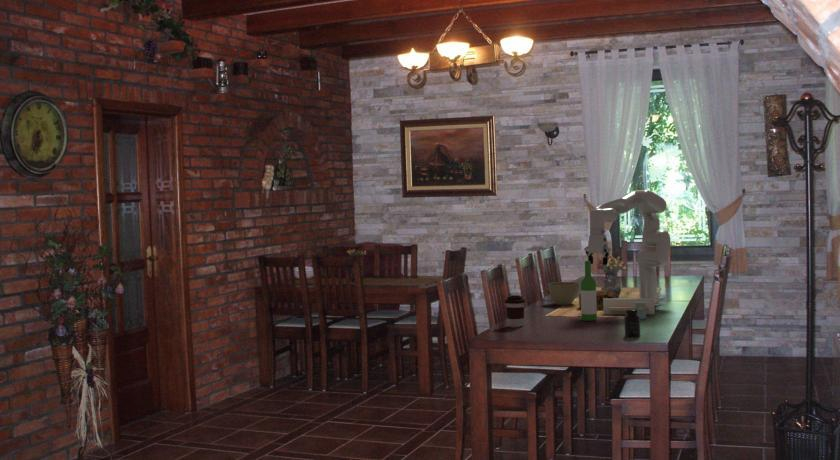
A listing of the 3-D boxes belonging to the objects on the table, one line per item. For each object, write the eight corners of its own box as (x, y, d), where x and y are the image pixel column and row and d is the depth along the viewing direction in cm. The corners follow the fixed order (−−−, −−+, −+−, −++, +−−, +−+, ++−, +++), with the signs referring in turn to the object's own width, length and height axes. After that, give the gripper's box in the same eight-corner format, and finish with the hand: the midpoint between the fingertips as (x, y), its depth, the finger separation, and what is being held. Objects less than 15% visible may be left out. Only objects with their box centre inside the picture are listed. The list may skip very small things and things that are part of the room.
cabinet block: (635, 316, 431) (635, 301, 431) (646, 316, 430) (645, 301, 430) (636, 319, 424) (635, 303, 424) (646, 319, 423) (645, 303, 423)
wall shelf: (603, 312, 449) (603, 297, 449) (654, 312, 443) (653, 297, 443) (603, 315, 439) (602, 300, 439) (654, 315, 433) (654, 300, 432)
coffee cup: (502, 326, 416) (501, 295, 416) (519, 324, 420) (518, 294, 420) (511, 328, 407) (511, 297, 407) (529, 326, 411) (528, 296, 411)
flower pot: (584, 302, 489) (583, 282, 489) (572, 307, 474) (571, 285, 474) (555, 301, 499) (555, 281, 499) (543, 305, 484) (542, 284, 483)
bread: (614, 307, 469) (614, 289, 469) (613, 309, 459) (612, 291, 459) (580, 306, 475) (580, 289, 474) (578, 309, 465) (578, 291, 464)
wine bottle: (580, 321, 423) (578, 261, 421) (582, 319, 430) (581, 260, 429) (595, 321, 420) (594, 261, 419) (598, 319, 427) (596, 260, 426)
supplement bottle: (622, 335, 380) (621, 308, 379) (637, 334, 380) (636, 308, 380) (627, 337, 373) (627, 310, 373) (642, 336, 374) (642, 310, 373)
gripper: (614, 232, 441) (615, 264, 441) (589, 231, 454) (589, 263, 455) (605, 232, 436) (606, 265, 437) (579, 232, 450) (580, 264, 450)
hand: (597, 264), depth 446 cm, fingers open, 9 cm apart
